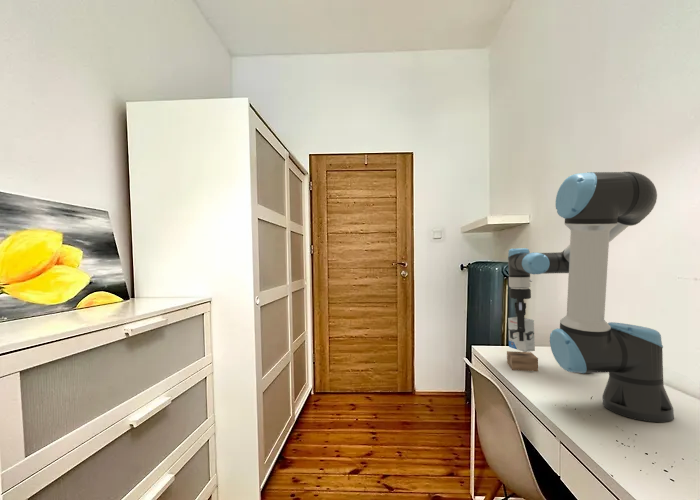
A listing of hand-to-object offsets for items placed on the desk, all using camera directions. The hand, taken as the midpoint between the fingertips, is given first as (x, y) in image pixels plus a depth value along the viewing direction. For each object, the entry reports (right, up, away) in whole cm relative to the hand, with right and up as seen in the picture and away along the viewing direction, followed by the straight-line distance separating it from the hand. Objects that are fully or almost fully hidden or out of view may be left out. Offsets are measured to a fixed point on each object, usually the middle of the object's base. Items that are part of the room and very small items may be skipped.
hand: (521, 346), depth 136 cm
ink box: (0, -1, 0) cm, 1 cm away
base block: (0, -8, 0) cm, 8 cm away
